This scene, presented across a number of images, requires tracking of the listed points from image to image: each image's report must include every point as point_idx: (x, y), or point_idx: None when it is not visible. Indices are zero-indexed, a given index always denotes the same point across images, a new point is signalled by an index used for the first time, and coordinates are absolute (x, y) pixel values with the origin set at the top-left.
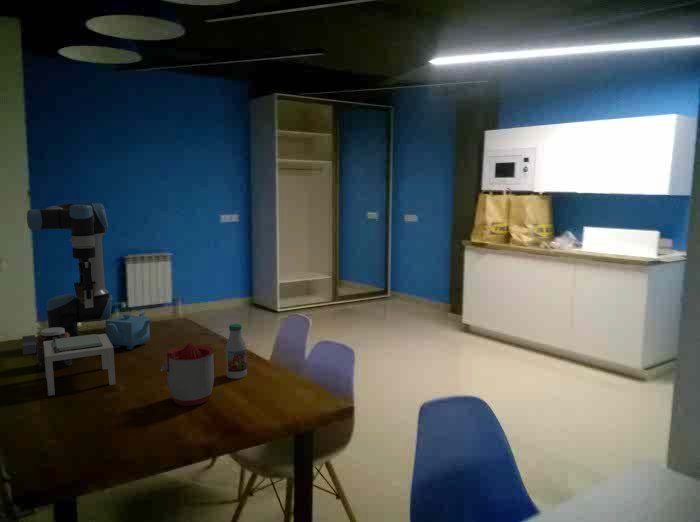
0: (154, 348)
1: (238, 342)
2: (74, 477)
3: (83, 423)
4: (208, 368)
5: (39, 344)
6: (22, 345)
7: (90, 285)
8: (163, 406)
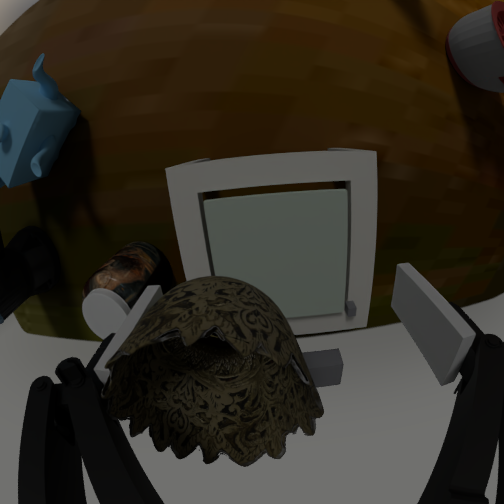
0: (91, 65)
1: None
2: None
3: (477, 223)
4: None
5: None
6: (334, 384)
7: (499, 368)
8: (475, 104)
